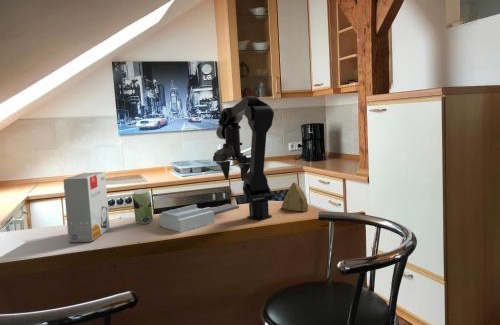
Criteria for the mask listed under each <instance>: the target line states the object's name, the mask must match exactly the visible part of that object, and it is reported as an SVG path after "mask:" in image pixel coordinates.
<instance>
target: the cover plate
mask: <svg viewBox="0 0 500 325" xmlns="http://www.w3.org/2000/svg"><path fill="white" fill-rule="evenodd" d="M239 208H240V205H237V204H232V203H226V204H223V205H219V206H214V207H211V211H214V216H216V215H220V214H223V213H226V212H229V211H234V210H237V209H239Z"/></svg>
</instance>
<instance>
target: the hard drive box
mask: <svg viewBox="0 0 500 325" xmlns="http://www.w3.org/2000/svg"><path fill="white" fill-rule="evenodd" d="M106 181H107V180H106V172H105V171H102V172H101V171H99V172H97V171H96V172H95V171H93V172H83V173H79V174H76V175H73V176H70V177H66V178H64V179H63V190H64V202H65V203H64V204H65V213H66V225H67V237H68V238H67V240H68V243H92V242H93V241H95V240H97V239H98V238H99V237H100V236H102V235H103V234H104V233H107V231H109V230H110V227H111V226H110V217H109V204H108V192H107V190H108V189H107V182H106Z"/></svg>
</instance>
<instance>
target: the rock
mask: <svg viewBox="0 0 500 325" xmlns="http://www.w3.org/2000/svg"><path fill="white" fill-rule="evenodd" d="M307 201H308V200H307V197H306V195H305V192H304V190H302V187H300V184H298V183H296V182H292V183H291V185H290V187H289V188H288V191H287V192H286V195H285V197H284V199H283V201H282V203H281V208H280V209H284V210H288V211H295V212H297V211H298V212H308V211H309V204H308V202H307Z"/></svg>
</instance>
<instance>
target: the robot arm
mask: <svg viewBox="0 0 500 325" xmlns="http://www.w3.org/2000/svg"><path fill="white" fill-rule="evenodd" d="M274 112H275V111H274V110H273V108H272V107H271V106H270V105H269V104H268V103H267V102H264V100H260V98H259V97H258V96H255V95H254V96H244V97H243V98H242V99H241V100H240V101H239V102H237V103H236V104H235V105H233V106H231V107H224V108H223V109H222V110H221V112H220V115H219V119H218V127H217V129H216V131H215V132H216V133H215V134H216V137H217V138H218V139H221V140H225V142H224V143H223V144H222V148H220V149H218V150H217V151H215V152H214V153H213V156H212V161H213V162H215V164H217V165H218V166H219V167H220V169H221V170H222V174H223V176H224V178H225V180H228V179H229V177H230V169H231V168H230V167H231V161H237V162H238V164H237V166H238V167H239V168H240V169H239V170H240V178H241V181H242V182H243V183H242V184H243V186H242V192H243V196H244V201H245V203H249V204H248V206H249V207H248V208H249V215H247V216H246V218H247V219H252V220H255V221H262V220H265V219H268V218H271V217H273V215H272V214H270V212H269V210H270V209H269V201H272V200H273V196H274V195H273V192H272V190H271V188H270V186H269V184H268V183H269V182H268V178H267V177H266V175H265V172H264V171H265V170H264V169H265V160H266V159H265V158H266V145H267V144H266V143H267V133H268V132H269V131H270V129H271V127H272V126H273V121H274V118H275V113H274ZM243 116H245V117H246V118H247V124H248V126H249V129H250V130H251V143H250V144H251V145H250V148H251V149H250V154H244V153H243V152H241V146H243V142H241V133H240V130H241V128H242V127H241V125H240V123H241V122H242V120H243V118H244V117H243Z"/></svg>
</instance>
